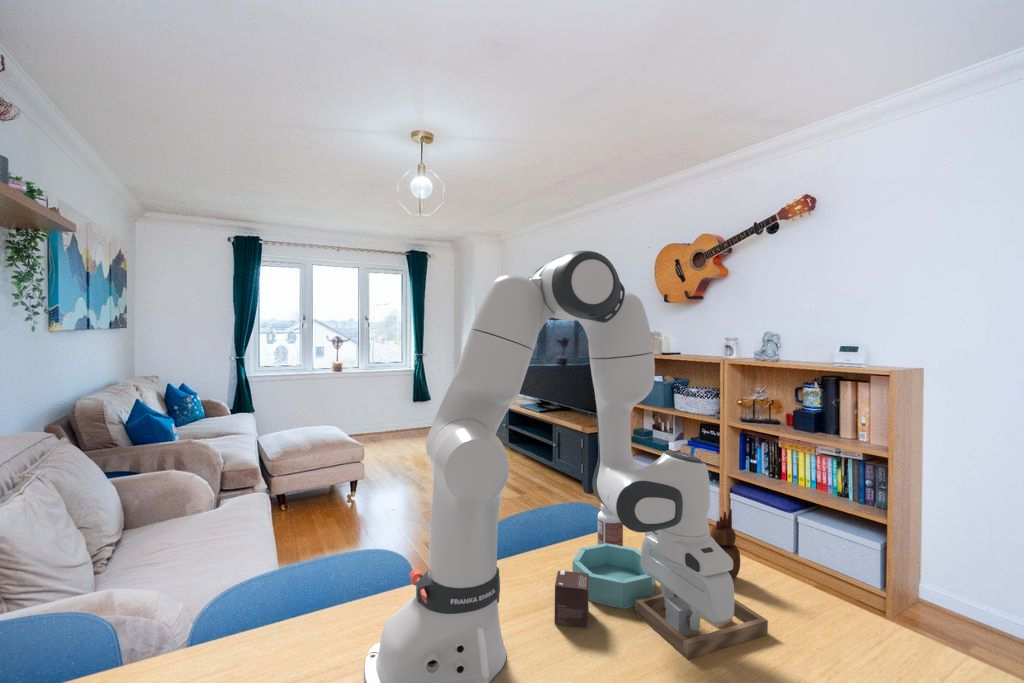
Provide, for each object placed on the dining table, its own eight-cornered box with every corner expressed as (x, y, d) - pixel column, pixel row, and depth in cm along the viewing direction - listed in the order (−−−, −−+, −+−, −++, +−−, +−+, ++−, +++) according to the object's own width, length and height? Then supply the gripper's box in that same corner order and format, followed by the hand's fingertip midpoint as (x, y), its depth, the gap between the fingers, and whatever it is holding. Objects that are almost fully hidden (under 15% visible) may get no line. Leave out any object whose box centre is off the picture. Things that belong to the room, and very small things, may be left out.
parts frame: (687, 659, 78) (687, 644, 78) (634, 612, 91) (635, 599, 91) (767, 634, 85) (767, 620, 85) (708, 594, 98) (708, 582, 98)
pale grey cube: (678, 636, 84) (678, 611, 84) (665, 623, 88) (665, 598, 88) (698, 633, 85) (698, 608, 85) (684, 620, 89) (684, 596, 89)
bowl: (602, 614, 90) (602, 587, 90) (561, 573, 105) (562, 551, 105) (670, 597, 97) (671, 572, 96) (623, 561, 112) (623, 540, 111)
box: (587, 629, 86) (587, 589, 86) (553, 625, 87) (554, 585, 87) (588, 610, 92) (589, 572, 92) (557, 606, 93) (557, 569, 93)
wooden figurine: (733, 572, 107) (734, 505, 107) (743, 585, 101) (744, 515, 101) (702, 570, 108) (703, 504, 107) (710, 583, 102) (711, 513, 102)
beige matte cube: (718, 628, 87) (718, 603, 87) (699, 616, 90) (699, 593, 90) (731, 621, 89) (732, 597, 89) (712, 610, 92) (713, 587, 92)
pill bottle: (626, 547, 119) (627, 503, 119) (616, 556, 114) (616, 510, 114) (604, 540, 123) (604, 497, 122) (592, 549, 118) (593, 504, 118)
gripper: (633, 523, 95) (632, 592, 95) (711, 571, 76) (710, 658, 76) (659, 519, 97) (658, 586, 97) (741, 564, 78) (740, 648, 78)
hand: (681, 618), depth 86 cm, fingers closed on pale grey cube, 4 cm apart
